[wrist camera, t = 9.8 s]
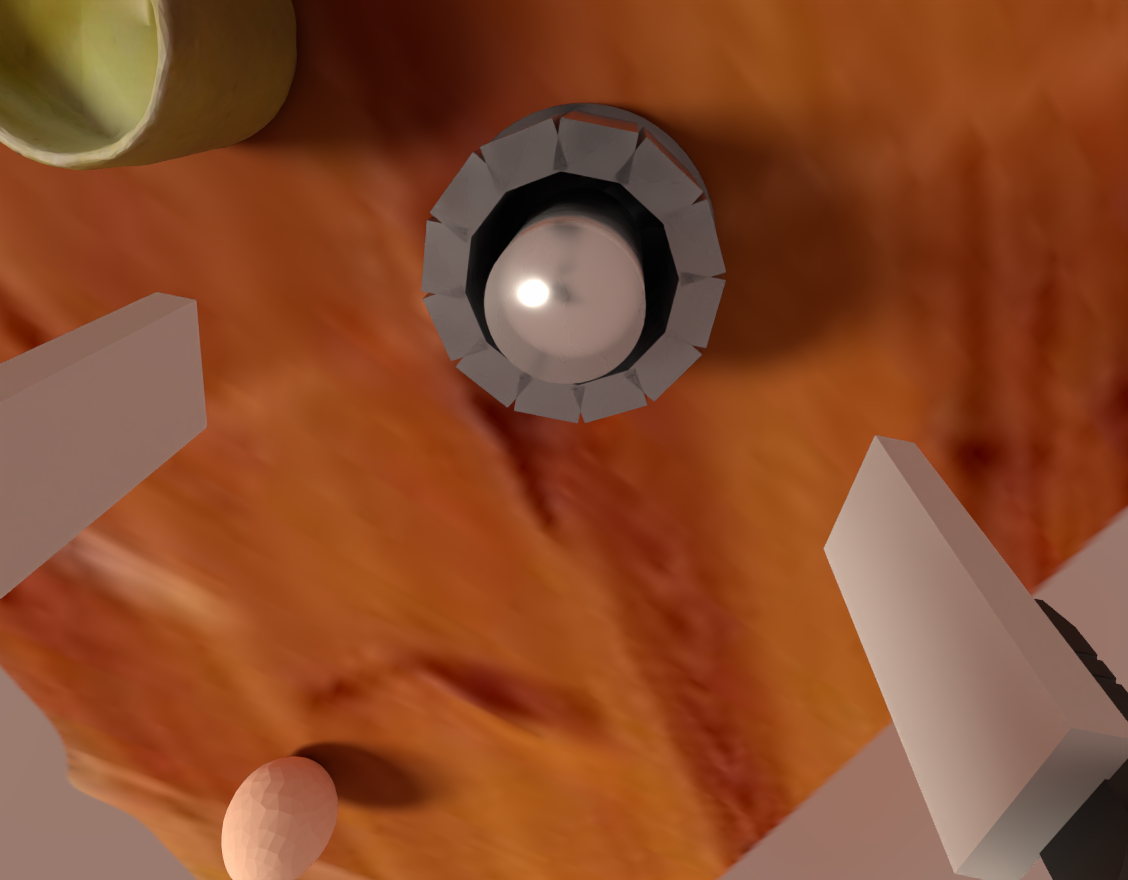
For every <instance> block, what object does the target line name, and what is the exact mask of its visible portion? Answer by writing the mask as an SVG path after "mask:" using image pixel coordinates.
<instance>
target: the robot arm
mask: <svg viewBox="0 0 1128 880" xmlns="http://www.w3.org/2000/svg"><path fill="white" fill-rule="evenodd" d="M206 427H207V420H206V409H205V397H204V386H203V374H202V362H201V351H200V339H199V328H198V316H197V305H196V300H193V299H188V298H183V297H178V296H173V295H168V294H163V293H158V292H155V293H153V294H151V295H149V296H147V297H144V298H142V299H140V300H138V301H136V302H134V303H131V304H129V305H127V306H125V307H123V308H121V309H118V310H116V311H114V312H112V313H110V314H108V315H105V316H103V317H101V318H99V319H97V320H95V321H92V322H90V323H88V324H86V325H84V326H82V327H79V328H77V329H75V330H73V331H71V332H68V333H66V334H64V335H62V336H60V337H58V338H55V339H53V340H51V341H49V342H47V343H45V344H42V345H40V346H38V347H36V348H34V349H32V350H29V351H27V352H25V353H23V354H21V355H19V356H16V357H14V358H12V359H10V360H8V361H5V362H3V363H1V364H0V599H1V598H2V597H4V596H5V595H6V594H7V593H8V592H10V591H11V590H12V589H13V588H14V587H16V586H17V585H18V584H19V583H20V582H22V581H23V580H24V579H25V578H26V577H28V576H29V575H30V574H31V573H32V572H34V571H35V570H36V569H37V568H38V567H40V566H41V565H42V564H43V563H44V562H46V561H47V560H48V559H49V558H50V557H52V556H53V555H54V554H55V553H56V552H58V551H59V550H60V549H61V548H62V547H64V546H65V545H66V544H67V543H68V542H70V541H71V540H72V539H73V538H74V537H76V536H77V535H78V534H79V533H80V532H82V531H83V530H84V529H85V528H86V527H88V526H89V525H90V524H91V523H92V522H94V521H95V520H96V519H97V518H98V517H100V516H101V515H102V514H103V513H104V512H106V511H107V510H108V509H109V508H110V507H112V506H113V505H114V504H115V503H116V502H118V501H119V500H120V499H121V498H122V497H124V496H125V495H126V494H127V493H128V492H130V491H131V490H132V489H133V488H134V487H136V486H137V485H138V484H139V483H140V482H142V481H143V480H144V479H145V478H146V477H148V476H149V475H150V474H151V473H152V472H154V471H155V470H156V469H157V468H158V467H160V466H161V465H162V464H163V463H164V462H166V461H167V460H168V459H169V458H170V457H172V456H173V455H174V454H175V453H176V452H178V451H179V450H180V449H181V448H182V447H184V446H185V445H186V444H187V443H188V442H190V441H191V440H192V439H193V438H194V437H196V436H197V435H198V434H199V433H200V432H202V431H203V430H204V429H205V428H206ZM824 551H825V553H826V556H827V558H828V561H829V563H830V566H831V568H832V571H833V573H834V575H835V578H836V580H837V583H838V585H839V588H840V590H841V593H842V595H843V598H844V600H845V603H846V605H847V608H848V610H849V613H850V615H851V618H852V620H853V623H854V625H855V628H856V630H857V633H858V635H859V638H860V640H861V642H862V645H863V647H864V650H865V652H866V655H867V657H868V660H869V662H870V665H871V667H872V670H873V672H874V675H875V677H876V680H877V682H878V685H879V687H880V690H881V692H882V695H883V697H884V700H885V702H886V705H887V707H888V709H889V712H890V714H891V717H892V719H893V722H894V724H895V727H896V729H897V732H898V734H899V737H900V739H901V742H902V744H903V747H904V749H905V752H906V754H907V756H908V759H909V762H910V764H911V767H912V769H913V771H914V774H915V776H916V779H917V781H918V784H919V786H920V788H921V791H922V794H923V796H924V799H925V801H926V804H927V806H928V809H929V811H930V814H931V816H932V818H933V821H934V824H935V826H936V828H937V831H938V833H939V836H940V838H941V841H942V843H943V846H944V848H945V851H946V853H947V856H948V858H949V861H950V863H951V866H952V868H953V871H954V873H955V874H958V875H964V876H969V877H973V878H979V879H984V880H1020V879H1021V878H1022V877H1023V876H1024V875H1025V874H1026V872H1027V871H1028V870H1029V869H1030V868H1031V867H1032V866H1033V865H1034V863H1035V862H1036V861H1037V860H1038V859H1039V858H1040V857H1041V858H1042V860H1043V862H1044V864H1045V866H1046V867H1047V869H1048V871H1049V873H1050V875H1051V877H1052V879H1053V880H1128V692H1127V691H1126V690H1125V689H1124V687H1123V686H1122V685H1120V684H1116V677H1115V676H1114V675H1113V674H1112V673H1111V671H1110V670H1109V669H1108V668H1107V666H1106V665H1105V664H1104V662H1103V661H1101V660H1097V654H1096V652H1095V651H1094V650H1093V649H1092V648H1091V646H1090V645H1089V644H1088V643H1087V641H1086V640H1085V639H1084V638H1083V636H1082V635H1081V634H1080V632H1079V631H1078V630H1077V629H1076V627H1075V626H1073V625H1072V624H1071V623H1070V622H1068V621H1067V620H1066V619H1065V618H1064V617H1062V616H1061V615H1060V614H1059V613H1057V612H1056V611H1055V610H1054V609H1053V608H1051V607H1050V606H1049V605H1048V604H1046V603H1045V602H1044V601H1043V600H1038V599H1033V597H1032V596H1031V595H1030V593H1029V592H1028V591H1027V589H1026V588H1025V587H1024V586H1023V584H1022V583H1021V582H1020V580H1019V579H1018V578H1017V576H1016V575H1015V574H1014V572H1013V571H1012V570H1011V569H1010V567H1009V566H1008V565H1007V563H1006V562H1005V561H1004V559H1003V558H1002V557H1001V555H1000V554H999V553H998V552H997V550H996V549H995V548H994V546H993V545H992V544H991V542H990V541H989V540H988V538H987V537H986V536H985V534H984V533H983V532H982V531H981V529H980V528H979V527H978V525H977V524H976V523H975V521H974V520H973V519H972V517H971V516H970V515H969V514H968V512H967V511H966V510H965V508H964V507H963V506H962V504H961V503H960V502H959V500H958V499H957V498H956V497H955V495H954V494H953V493H952V491H951V490H950V489H949V487H948V486H947V485H946V483H945V482H944V481H943V480H942V478H941V477H940V476H939V474H938V473H937V472H936V470H935V469H934V468H933V466H932V465H931V464H930V462H929V461H928V460H927V459H926V457H925V456H924V455H923V453H922V452H921V451H920V449H919V448H918V447H917V445H916V444H915V443H913V442H907V441H902V440H897V439H892V438H887V437H882V436H877V435H875V437H874V439H873V441H872V443H871V445H870V448H869V450H868V452H867V454H866V457H865V459H864V461H863V463H862V465H861V468H860V470H859V472H858V474H857V476H856V479H855V481H854V483H853V485H852V487H851V490H850V492H849V494H848V496H847V499H846V501H845V503H844V505H843V507H842V510H841V512H840V514H839V516H838V518H837V521H836V523H835V525H834V527H833V529H832V532H831V534H830V536H829V538H828V541H827V543H826V545H825V547H824Z"/></svg>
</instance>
